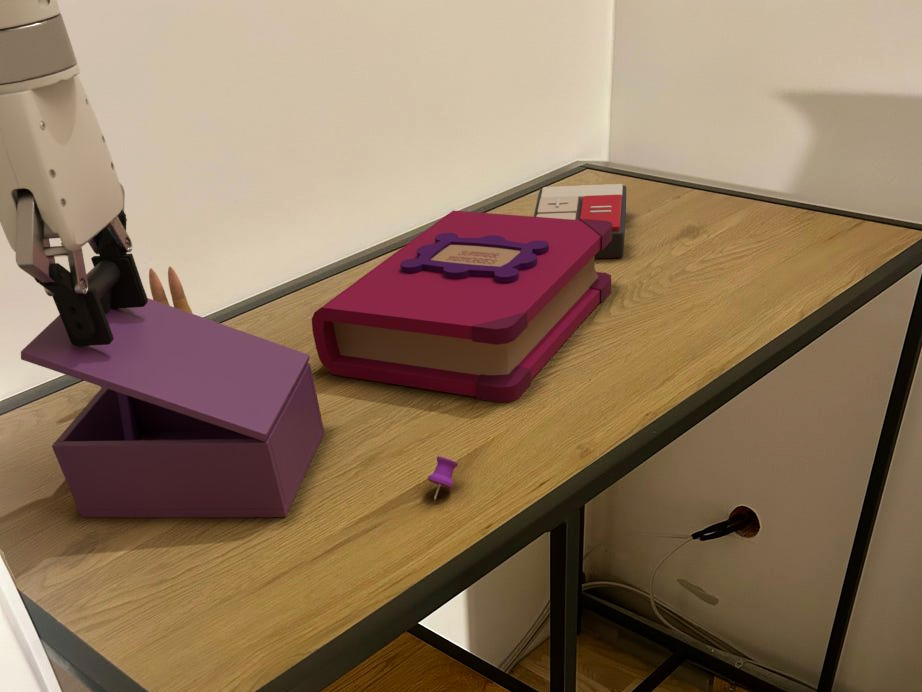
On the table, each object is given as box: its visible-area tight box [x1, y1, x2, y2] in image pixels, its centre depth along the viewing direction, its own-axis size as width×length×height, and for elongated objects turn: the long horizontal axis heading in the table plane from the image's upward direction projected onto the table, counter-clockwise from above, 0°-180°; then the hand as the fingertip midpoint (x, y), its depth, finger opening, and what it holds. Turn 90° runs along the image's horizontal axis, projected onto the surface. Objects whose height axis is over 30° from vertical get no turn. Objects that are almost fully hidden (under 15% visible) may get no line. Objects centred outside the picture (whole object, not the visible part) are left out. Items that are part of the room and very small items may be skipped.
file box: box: [51, 362, 326, 519], centre depth 80 cm, size 17×13×7 cm
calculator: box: [533, 183, 627, 260], centre depth 116 cm, size 11×4×15 cm
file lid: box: [20, 260, 310, 441], centre depth 74 cm, size 18×13×5 cm
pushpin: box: [427, 456, 459, 501], centre depth 76 cm, size 2×3×3 cm
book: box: [311, 210, 612, 403], centre depth 97 cm, size 21×28×8 cm
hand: (111, 322), depth 74 cm, fingers closed on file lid, 6 cm apart
